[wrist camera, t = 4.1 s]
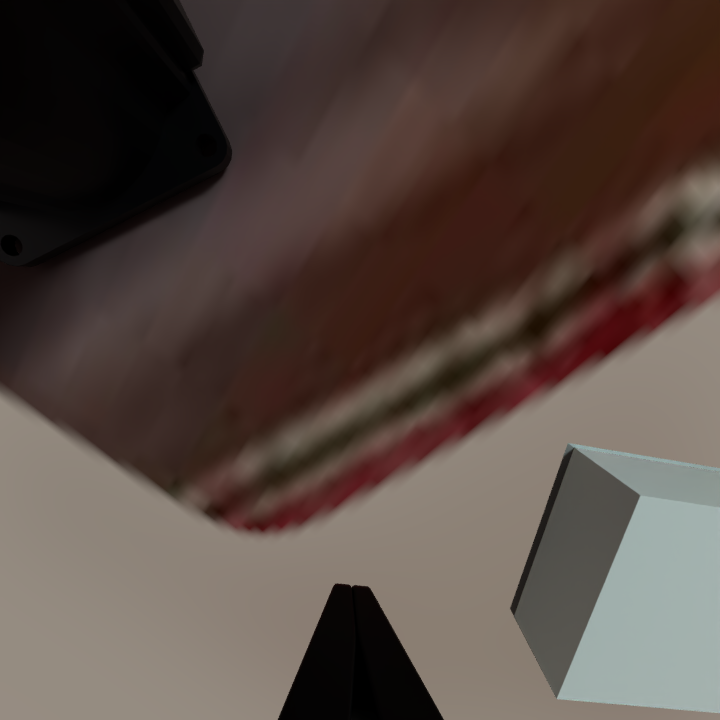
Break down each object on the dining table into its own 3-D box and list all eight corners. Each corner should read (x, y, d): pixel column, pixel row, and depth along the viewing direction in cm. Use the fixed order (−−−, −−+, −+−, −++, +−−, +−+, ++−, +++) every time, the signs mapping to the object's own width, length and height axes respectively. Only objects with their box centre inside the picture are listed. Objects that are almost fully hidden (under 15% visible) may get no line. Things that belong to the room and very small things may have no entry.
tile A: (510, 608, 14) (556, 698, 11) (567, 442, 12) (640, 495, 9) (672, 627, 14) (757, 716, 11) (745, 472, 13) (865, 529, 10)
